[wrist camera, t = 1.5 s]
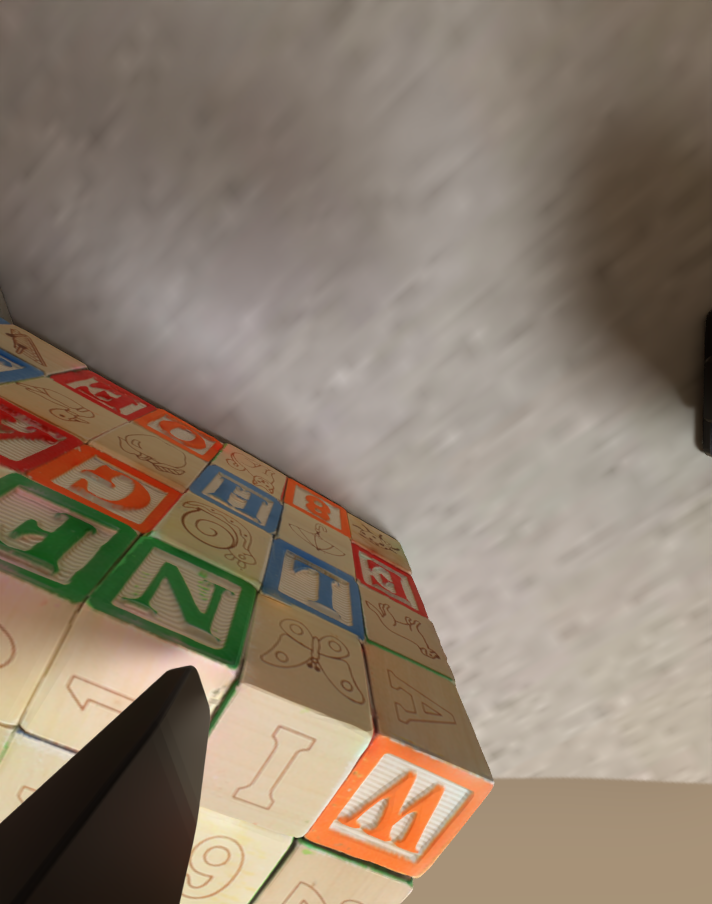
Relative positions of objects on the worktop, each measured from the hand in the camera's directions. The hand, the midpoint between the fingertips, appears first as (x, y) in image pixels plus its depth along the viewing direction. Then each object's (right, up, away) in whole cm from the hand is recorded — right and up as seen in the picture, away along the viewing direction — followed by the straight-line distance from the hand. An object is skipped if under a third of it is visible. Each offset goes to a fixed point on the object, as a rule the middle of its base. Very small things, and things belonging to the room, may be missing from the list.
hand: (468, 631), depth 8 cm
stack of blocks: (-10, +2, +13) cm, 16 cm away
